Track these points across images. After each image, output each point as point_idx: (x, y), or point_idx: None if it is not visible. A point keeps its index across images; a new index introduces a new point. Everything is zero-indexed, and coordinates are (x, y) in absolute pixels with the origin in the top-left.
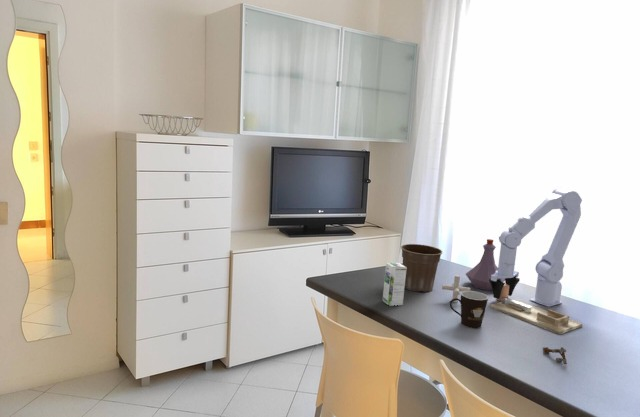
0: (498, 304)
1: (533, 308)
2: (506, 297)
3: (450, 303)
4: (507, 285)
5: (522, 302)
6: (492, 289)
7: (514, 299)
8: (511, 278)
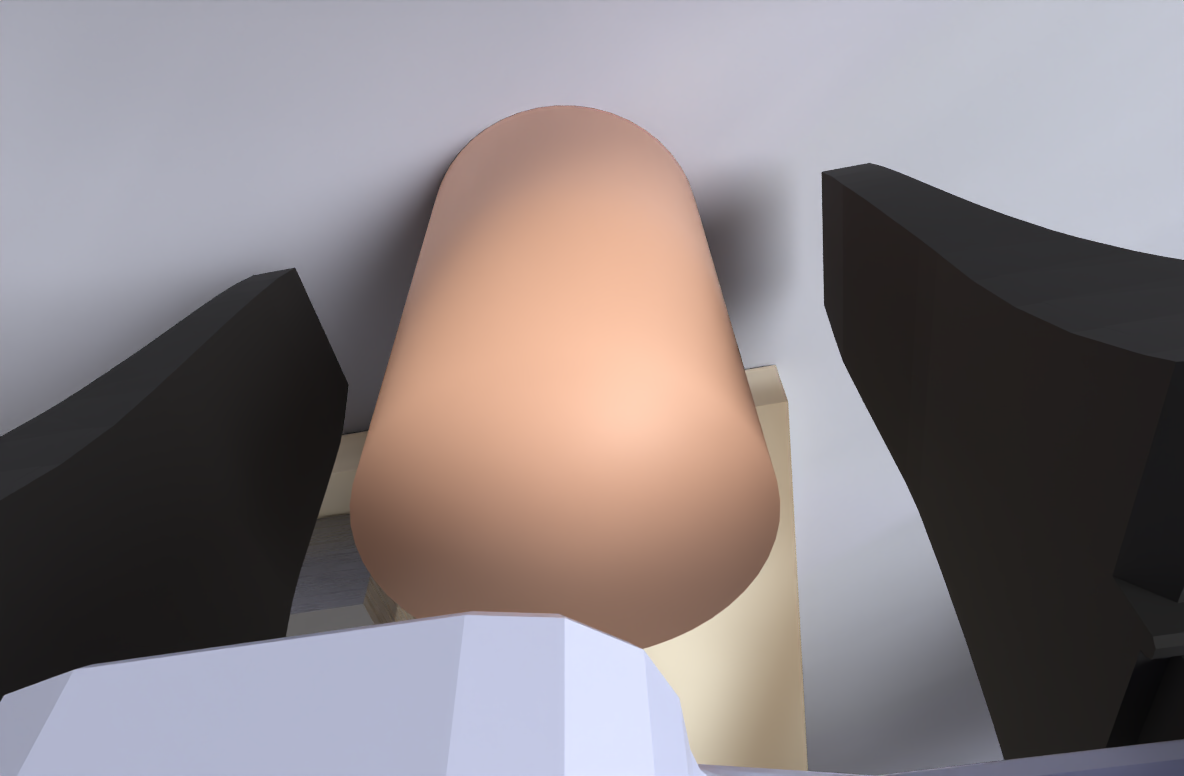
0: None
1: (699, 738)
2: (366, 624)
3: None
4: (689, 574)
5: (773, 564)
6: (90, 393)
7: (766, 428)
8: (1090, 745)
